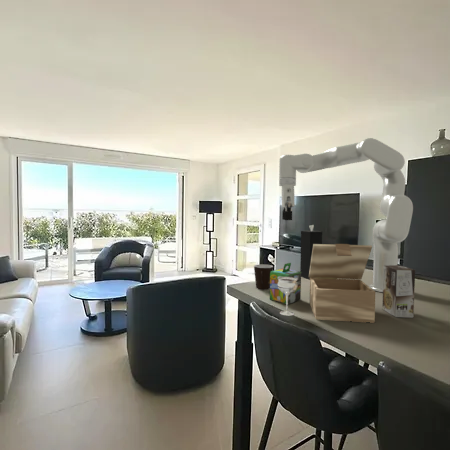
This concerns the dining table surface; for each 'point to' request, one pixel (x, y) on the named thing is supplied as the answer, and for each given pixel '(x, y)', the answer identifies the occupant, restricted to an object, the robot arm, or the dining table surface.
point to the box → (342, 300)
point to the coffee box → (398, 290)
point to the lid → (339, 261)
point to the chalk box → (274, 290)
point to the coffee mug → (262, 276)
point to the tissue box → (308, 249)
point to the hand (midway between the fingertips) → (287, 219)
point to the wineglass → (287, 290)
